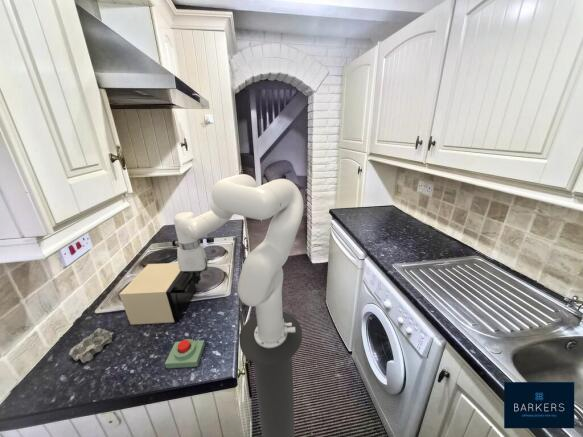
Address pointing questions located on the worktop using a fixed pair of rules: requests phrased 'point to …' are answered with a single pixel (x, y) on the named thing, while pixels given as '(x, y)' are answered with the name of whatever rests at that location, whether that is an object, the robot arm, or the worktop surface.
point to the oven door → (180, 294)
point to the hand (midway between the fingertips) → (197, 281)
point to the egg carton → (91, 345)
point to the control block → (185, 355)
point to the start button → (184, 346)
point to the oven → (150, 294)
